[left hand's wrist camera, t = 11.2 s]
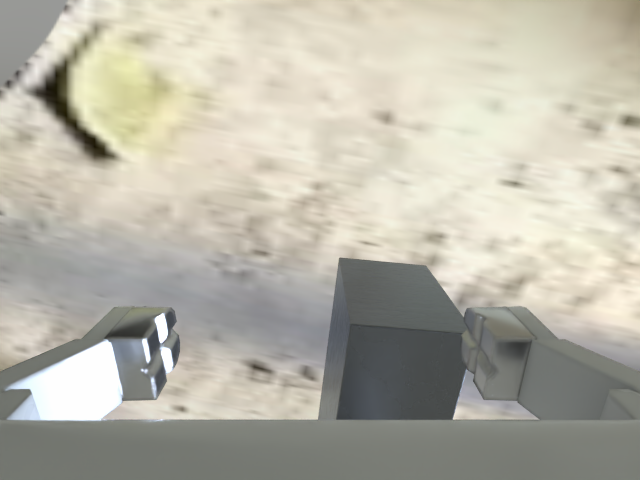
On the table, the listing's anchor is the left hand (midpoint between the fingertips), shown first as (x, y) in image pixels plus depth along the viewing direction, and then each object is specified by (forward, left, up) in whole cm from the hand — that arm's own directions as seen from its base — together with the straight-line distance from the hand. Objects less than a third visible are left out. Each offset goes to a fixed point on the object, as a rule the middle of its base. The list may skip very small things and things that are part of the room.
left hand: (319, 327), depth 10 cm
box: (+16, +3, -14) cm, 22 cm away
